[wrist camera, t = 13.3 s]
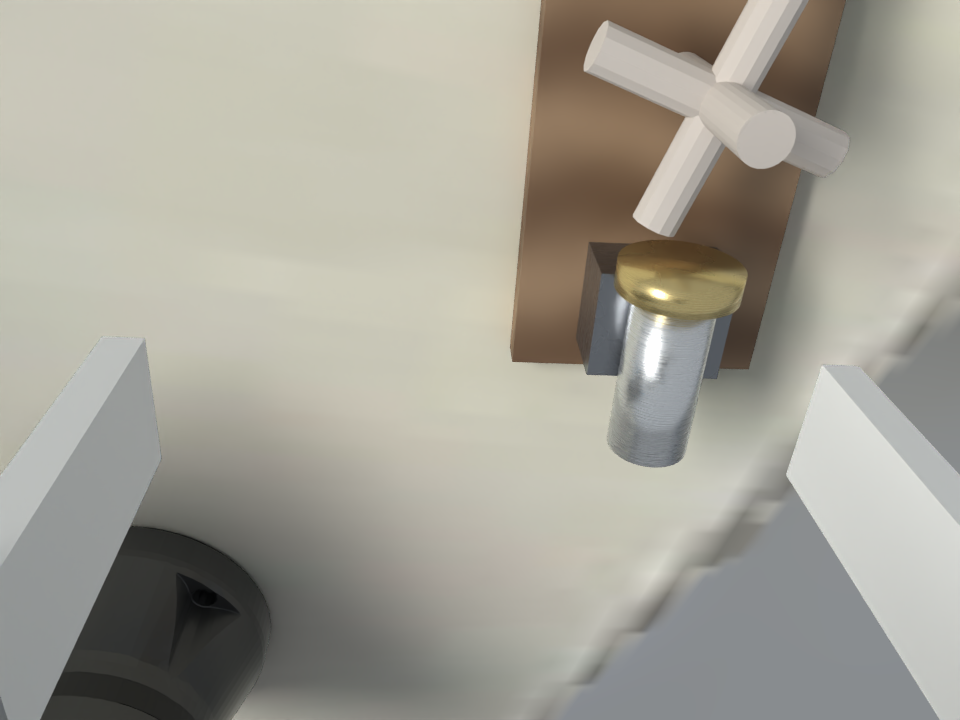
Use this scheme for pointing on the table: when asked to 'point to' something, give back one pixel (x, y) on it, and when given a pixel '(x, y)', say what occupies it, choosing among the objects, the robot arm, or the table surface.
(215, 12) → the table surface
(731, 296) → the shaft
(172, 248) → the table surface
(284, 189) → the table surface
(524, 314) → the board
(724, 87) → the pipe connector
